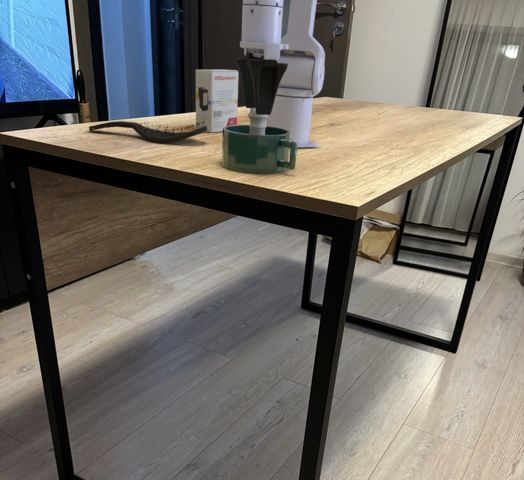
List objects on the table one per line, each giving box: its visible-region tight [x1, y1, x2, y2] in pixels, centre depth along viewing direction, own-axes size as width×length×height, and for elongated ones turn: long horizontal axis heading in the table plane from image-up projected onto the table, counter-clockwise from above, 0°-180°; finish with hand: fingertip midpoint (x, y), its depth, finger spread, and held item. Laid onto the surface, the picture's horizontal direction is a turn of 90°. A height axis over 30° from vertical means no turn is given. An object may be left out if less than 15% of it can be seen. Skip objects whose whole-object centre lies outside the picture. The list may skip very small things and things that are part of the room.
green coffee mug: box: [221, 124, 298, 174], centre depth 84 cm, size 14×11×6 cm
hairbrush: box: [88, 120, 207, 144], centre depth 103 cm, size 8×4×25 cm
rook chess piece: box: [247, 108, 268, 135], centre depth 84 cm, size 4×4×8 cm
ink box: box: [195, 69, 239, 134], centre depth 114 cm, size 9×5×12 cm, turn 141°
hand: (257, 111), depth 82 cm, fingers open, 7 cm apart
